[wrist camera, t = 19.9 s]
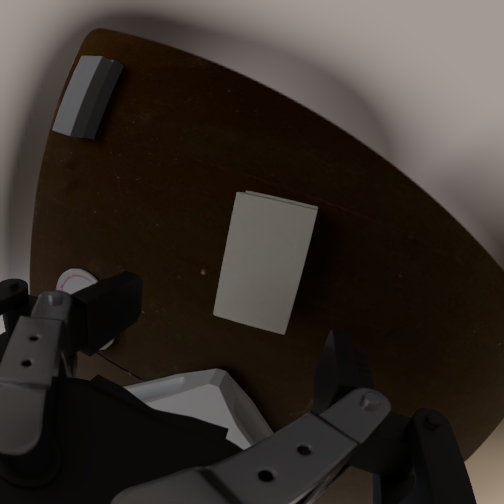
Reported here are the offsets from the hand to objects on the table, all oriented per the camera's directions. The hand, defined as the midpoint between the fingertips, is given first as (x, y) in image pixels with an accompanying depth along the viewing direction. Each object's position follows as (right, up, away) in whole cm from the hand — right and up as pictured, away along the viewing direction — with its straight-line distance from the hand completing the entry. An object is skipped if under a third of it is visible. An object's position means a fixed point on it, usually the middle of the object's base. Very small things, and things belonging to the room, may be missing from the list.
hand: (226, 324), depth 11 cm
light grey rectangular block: (+2, +2, +13) cm, 13 cm away
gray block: (-18, +22, +17) cm, 33 cm away
